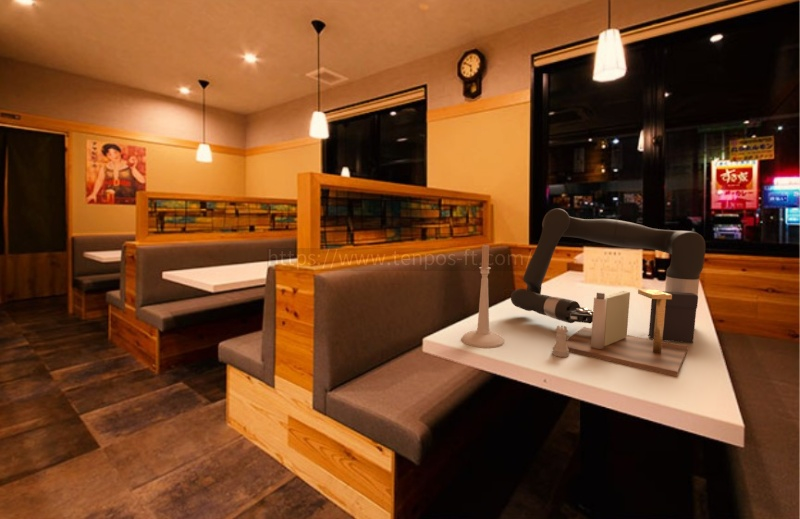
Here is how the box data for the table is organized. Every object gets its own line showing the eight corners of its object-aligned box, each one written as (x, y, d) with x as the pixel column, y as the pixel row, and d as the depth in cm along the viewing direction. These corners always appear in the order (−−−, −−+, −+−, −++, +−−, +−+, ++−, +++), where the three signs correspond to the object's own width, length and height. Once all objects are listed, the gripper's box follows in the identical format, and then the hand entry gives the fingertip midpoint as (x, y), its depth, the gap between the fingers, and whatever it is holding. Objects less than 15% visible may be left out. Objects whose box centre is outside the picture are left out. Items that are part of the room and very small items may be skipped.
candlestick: (456, 343, 114) (458, 244, 111) (469, 332, 126) (471, 241, 122) (498, 350, 108) (502, 246, 105) (508, 338, 120) (512, 243, 116)
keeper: (633, 348, 110) (638, 289, 108) (651, 348, 110) (656, 289, 108) (647, 357, 103) (652, 294, 101) (666, 358, 103) (672, 294, 101)
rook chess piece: (567, 358, 102) (569, 330, 101) (550, 355, 105) (551, 327, 104) (570, 353, 106) (571, 326, 105) (553, 350, 108) (554, 323, 108)
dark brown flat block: (688, 339, 118) (692, 292, 117) (693, 344, 114) (698, 295, 113) (647, 335, 122) (651, 290, 120) (651, 340, 118) (655, 292, 116)
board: (583, 330, 127) (583, 327, 127) (687, 350, 109) (687, 346, 109) (558, 349, 110) (558, 345, 110) (676, 376, 91) (677, 371, 91)
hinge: (600, 349, 105) (603, 294, 103) (588, 346, 108) (592, 292, 106) (628, 337, 115) (632, 287, 114) (617, 335, 118) (621, 286, 116)
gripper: (548, 300, 125) (597, 312, 109) (575, 296, 131) (624, 307, 116) (547, 322, 125) (595, 337, 110) (573, 317, 132) (623, 330, 116)
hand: (610, 321), depth 113 cm, fingers closed
